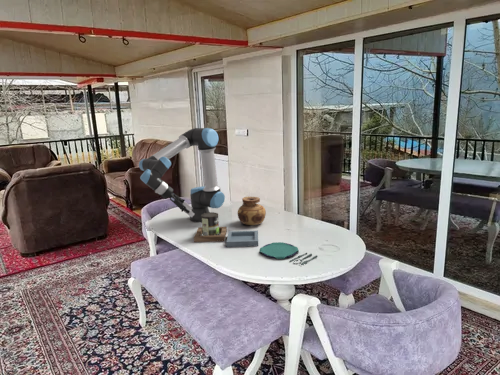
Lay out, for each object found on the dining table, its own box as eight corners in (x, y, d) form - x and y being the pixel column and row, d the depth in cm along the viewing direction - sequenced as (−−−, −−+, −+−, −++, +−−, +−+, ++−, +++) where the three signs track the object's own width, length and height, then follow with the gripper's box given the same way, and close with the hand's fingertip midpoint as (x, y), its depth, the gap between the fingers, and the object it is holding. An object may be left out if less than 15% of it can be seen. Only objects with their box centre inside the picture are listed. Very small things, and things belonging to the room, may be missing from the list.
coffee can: (221, 233, 231) (220, 212, 228) (216, 239, 222) (215, 217, 219) (205, 233, 234) (204, 211, 230) (200, 239, 224) (198, 216, 221)
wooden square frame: (198, 231, 237) (198, 227, 236) (226, 231, 236) (226, 226, 236) (194, 242, 219) (193, 237, 218) (224, 241, 219) (224, 236, 218)
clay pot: (274, 218, 248) (265, 194, 240) (254, 234, 240) (244, 209, 231) (256, 212, 263) (247, 189, 255) (237, 227, 255) (227, 203, 246)
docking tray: (228, 235, 227) (228, 231, 227) (258, 235, 227) (257, 230, 226) (226, 246, 210) (226, 241, 209) (258, 246, 209) (258, 241, 209)
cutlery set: (277, 242, 214) (277, 239, 213) (320, 257, 193) (320, 253, 192) (253, 253, 200) (253, 249, 200) (296, 270, 179) (296, 266, 179)
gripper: (159, 190, 227) (186, 211, 233) (160, 200, 203) (189, 223, 210) (168, 181, 227) (194, 202, 233) (169, 190, 203) (198, 213, 210)
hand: (192, 212), depth 221 cm, fingers open, 13 cm apart
